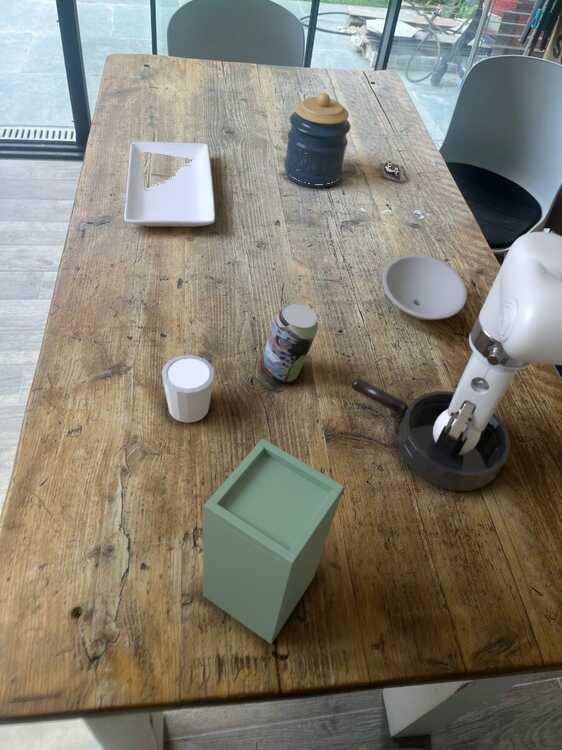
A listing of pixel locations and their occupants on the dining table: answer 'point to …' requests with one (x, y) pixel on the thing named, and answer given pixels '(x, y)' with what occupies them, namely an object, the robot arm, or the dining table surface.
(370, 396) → the pan handle
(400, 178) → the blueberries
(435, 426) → the egg
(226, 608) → the stand
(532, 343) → the robot arm
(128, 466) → the dining table surface
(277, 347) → the beverage can
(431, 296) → the dish
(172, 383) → the white cylinder
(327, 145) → the canister
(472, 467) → the pan
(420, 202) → the dining table surface
